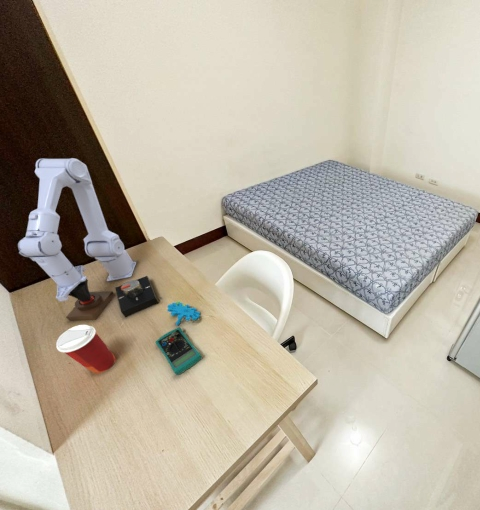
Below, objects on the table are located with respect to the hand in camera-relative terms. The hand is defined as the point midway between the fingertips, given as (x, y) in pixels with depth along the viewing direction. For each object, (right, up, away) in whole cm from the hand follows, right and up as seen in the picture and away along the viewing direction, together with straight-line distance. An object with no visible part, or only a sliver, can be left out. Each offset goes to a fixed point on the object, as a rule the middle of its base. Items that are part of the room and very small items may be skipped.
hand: (86, 299), depth 87 cm
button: (0, -1, +1) cm, 2 cm away
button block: (0, -3, +3) cm, 4 cm away
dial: (+13, +2, +4) cm, 14 cm away
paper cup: (+17, -16, -13) cm, 27 cm away
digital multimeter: (+37, -14, -9) cm, 41 cm away
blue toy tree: (+34, -6, 0) cm, 34 cm away
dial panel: (+13, 0, +6) cm, 14 cm away
